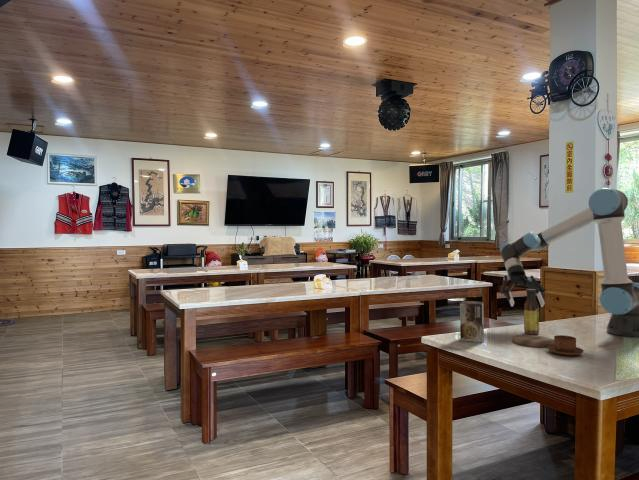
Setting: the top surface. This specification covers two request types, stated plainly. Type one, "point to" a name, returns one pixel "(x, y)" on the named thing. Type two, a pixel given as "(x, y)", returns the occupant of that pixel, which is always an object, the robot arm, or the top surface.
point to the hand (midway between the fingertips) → (528, 305)
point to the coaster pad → (533, 341)
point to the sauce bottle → (531, 313)
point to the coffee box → (471, 321)
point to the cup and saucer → (565, 346)
